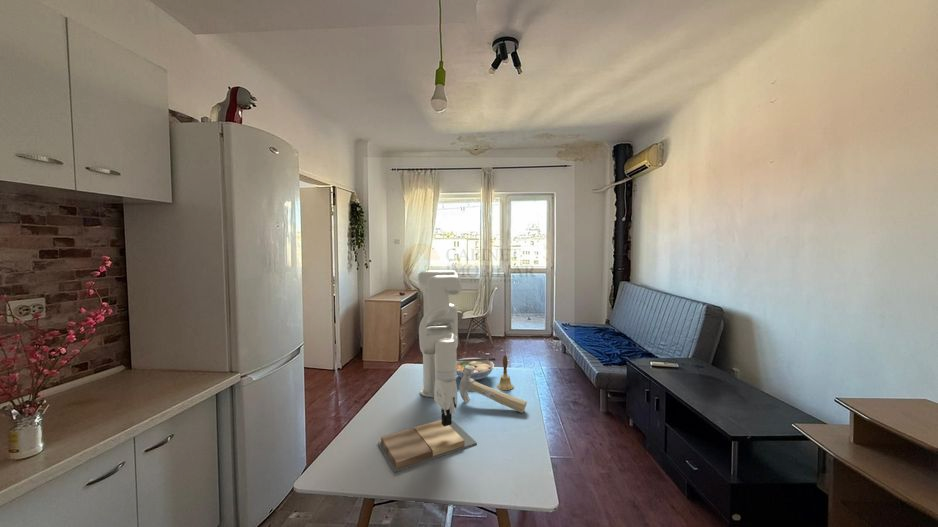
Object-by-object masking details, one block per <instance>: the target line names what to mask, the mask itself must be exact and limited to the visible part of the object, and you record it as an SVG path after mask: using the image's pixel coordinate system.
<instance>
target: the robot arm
mask: <svg viewBox="0 0 938 527" xmlns="http://www.w3.org/2000/svg"><path fill="white" fill-rule="evenodd" d="M417 281H418V284H419V287H420V289H421V292H422V296H423V317H422V318H421V320H420V323H419V327H418V340H419V341H418V342H419V349H420V352H421V353H422V371H423V372H422V375H423V376H422V382H423V384H422V385H423V386H422V387H421V388H420V391H419V393H420V395H421V396H423V397H425V398H426V397H427V398H434V399H433V400H434V403H436V404H437V405H438V406H439V408H440V412H441V420H442V425H443V426H448V425H451V424H452V421H453V418H452V417H453V416H452V415H453V414H455V413H456V411H455V409H457V407H458V387H457V378H458V375H457V360H458V359H457V348H458V347H459V338H458V337H459V335H458V334H459V332H458V331H459V328H458V325H459V319H458V317H459V315H458V309H457V306H456V305H455V304H454V303H450V300H449V299H450V298H449V297H450V296H457V295H460V294H461V292H462V289H463V288H462V287H463V286H462V281H461V277H460V275H459V274H458V272H456V270H452V269H445V270H444V269H441V270H440V269H438V270H436V269H435V270H434V269H433V270H432V269H431V270H423V271H421V272H419V273H418V275H417ZM428 325H430V326H428ZM431 325H433V326H431Z"/></svg>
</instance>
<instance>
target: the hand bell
mask: <svg viewBox="0 0 938 527" xmlns="http://www.w3.org/2000/svg"><path fill="white" fill-rule="evenodd" d="M508 362H509V360H508V356H507V355H506V354H503V357H502V367H503V373H502V375H500V379H499V383H498V384H497V385H496V389H497V390H500V389H501V390H500V391H511V390H513V389H514V388H515V386H514V385H513V384H512V382H511V378H510V376H509V375H508V370H507V368H508ZM512 388H513V389H512ZM510 389H511V390H510Z"/></svg>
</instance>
